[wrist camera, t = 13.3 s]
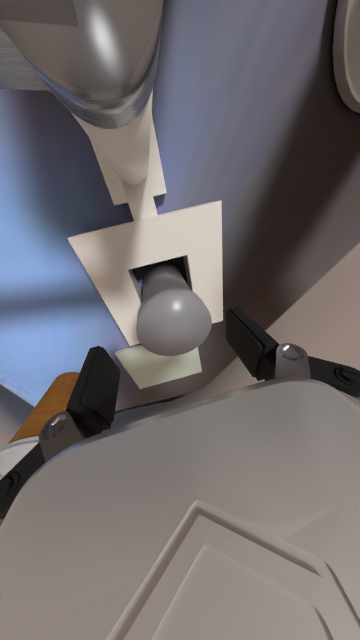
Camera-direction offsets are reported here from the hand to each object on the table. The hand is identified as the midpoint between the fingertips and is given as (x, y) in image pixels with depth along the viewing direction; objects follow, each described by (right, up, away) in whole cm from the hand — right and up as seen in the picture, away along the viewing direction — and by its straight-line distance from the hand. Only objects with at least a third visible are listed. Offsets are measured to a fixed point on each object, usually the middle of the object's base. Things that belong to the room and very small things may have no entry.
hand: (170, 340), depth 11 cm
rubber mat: (-2, -7, +18) cm, 19 cm away
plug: (-2, +7, +9) cm, 11 cm away
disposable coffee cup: (-19, -10, +17) cm, 27 cm away
